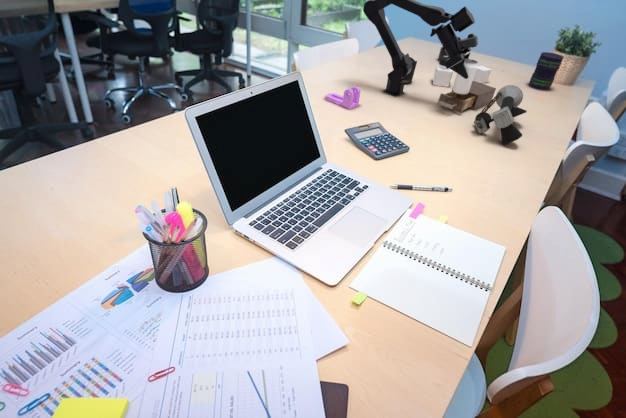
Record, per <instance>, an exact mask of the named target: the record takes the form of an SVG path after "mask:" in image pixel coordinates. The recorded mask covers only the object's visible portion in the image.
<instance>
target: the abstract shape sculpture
mask: <svg viewBox="0 0 626 418" xmlns="http://www.w3.org/2000/svg"><path fill="white" fill-rule="evenodd" d="M523 100H524V92H523V91H522V89H521V87H519V86H518V85H514V84H508V85H504V86H503V87H501V88H499V90H498V91H497V92H496V95H494V96H493V98H492V100H491V102H490V103H488V104H486V105H485V107H484V106H483V107H484V108H483V109H482V110H481V111H480V112H479V113H477V114H476V116H475V119H474V121H473V124H474V126H475V128H476V130H477V133H478V135H480V134H482V133H485V132H487V131H489V130H490V129H491V126H490V124H491V123H492V122H494V123H495V126H496V128H497V130H500V139H501V144H502V145H508V144H510V143H514V142H515V141H517V140H519V139H520V138H522V137H523V133H522V132H521V131H520V130H519V129H518V128H517V126H515V124H514V121H515V120H514V119H515V118H516V117H519V116H522V115H523V114H526V113H527V110H526V109H523V108H521V107H519V106H520V105H521V103H522V101H523ZM495 103H496V105H497V106H498V107H499V109H497V110H495V111H493V113H492V116H491V114H490V113H488V110H489V109H490V108H492V106H493V105H494V104H495Z"/></svg>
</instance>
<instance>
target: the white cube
mask: <svg viewBox="0 0 626 418" xmlns="http://www.w3.org/2000/svg"><path fill="white" fill-rule="evenodd" d="M491 73H492V69H491V68H489V67H485V66H483V65H477V69H476V72H475V75H474V78H473V81H475V82H478V83H481V84H485V83H488V82H489V78H490V75H491Z"/></svg>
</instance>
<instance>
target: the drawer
mask: <svg viewBox="0 0 626 418" xmlns="http://www.w3.org/2000/svg"><path fill="white" fill-rule="evenodd" d="M475 100H476V96H473V95H470V94H466V95H461V94H457V93H454V92H453V91H452V90H451V91H448V92H446V93H440V95H439V98H438V102H437V105H439V106H442V107H444V108H446V109H449V110H451V111H455V112H457V113H459V114H461V113H463V111H464V110H466V109H470V108H469V107H471V106H473V105H474V102H475Z"/></svg>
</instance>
